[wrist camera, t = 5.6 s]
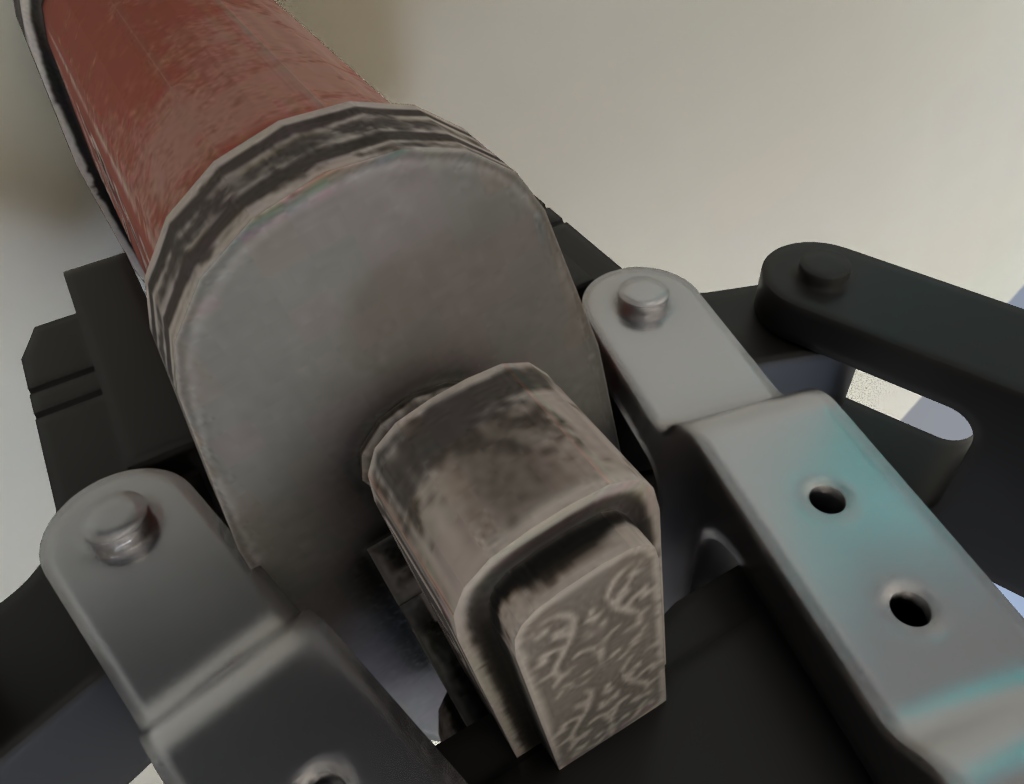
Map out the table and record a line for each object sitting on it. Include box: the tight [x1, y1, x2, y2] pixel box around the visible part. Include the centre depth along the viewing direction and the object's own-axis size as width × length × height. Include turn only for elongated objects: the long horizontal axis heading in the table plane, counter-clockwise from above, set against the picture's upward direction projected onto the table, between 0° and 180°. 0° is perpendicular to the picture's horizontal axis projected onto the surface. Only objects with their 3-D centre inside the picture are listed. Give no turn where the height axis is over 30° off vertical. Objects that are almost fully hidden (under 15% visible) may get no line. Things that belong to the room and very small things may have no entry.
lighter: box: [14, 0, 666, 770], centre depth 9 cm, size 8×3×10 cm, turn 10°
